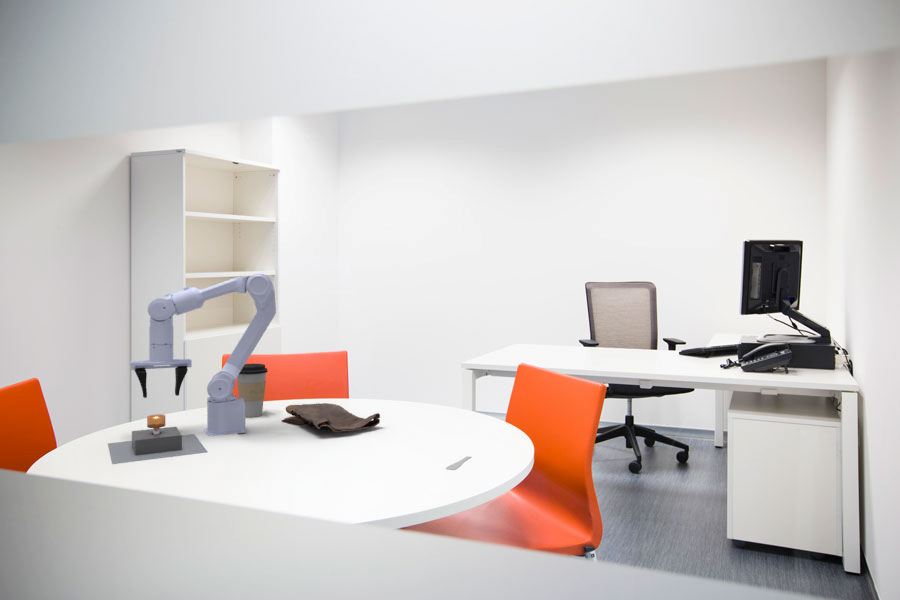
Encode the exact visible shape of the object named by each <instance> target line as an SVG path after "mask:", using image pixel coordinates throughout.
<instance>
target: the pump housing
mask: <svg viewBox="0 0 900 600" xmlns="http://www.w3.org/2000/svg"><path fill="white" fill-rule="evenodd" d="M182 435H183V434H182V433H181V432H180V430H179V429H178V428H177V426H169V427H160V434H153V428H148V429H141V430H131V441H132V447H133V450H134V453H135V455H143V454H152V453H160V452H168V451H177V450H182Z"/></svg>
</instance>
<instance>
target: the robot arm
mask: <svg viewBox="0 0 900 600" xmlns="http://www.w3.org/2000/svg"><path fill="white" fill-rule="evenodd" d="M247 292H248V294H249V295H250V296H251V298H252V300H253V302H254V306H255V308H256V313H255V315H254V316H253V319H252V320H251V321H250V323H249V325H248V326H247V328H246V330H245V331H244V333H243V334H242V336H241V338H240V339H239V340H238V343H237V344H236V346H235V347H234V349H233V350H232V352H231V354H230V356H229V357H228V359H227V360H226V362H225V364H224V365H223V367H222V368H221V370H220V371H218V372H217V373H215V374H214V375H213V376H212V378H211V380H210V381H209V382H208V383H207V387H206V391H207V394H208V396H209V397H207V399H206V400H207V401H206V404H207V407H206V410H207V414H206V416H207V417H206V419H207V428H204V429H203V431H204V432H205V433H206V434H207V435H208V436H209V437H212V436H221V435H228V434H245V433H247V429H246V417H245V402H244V399H243V398H239V397H237V396H236V395H235V393H234V392H233V390H234V389H235V386H236V380H237V377H238V375H239V373H240V371H241V370H242V368H243V366H244V365H245V364H247V361H248V360H249V358H250V357H251V355H252V354H253V352H254V350H255V349H256V347H257V345H258V343H259V342H260V341H261V338H262V337H263V336H264V334H265V333H266V331H267V329H268V327H269V326H270V324H271V322H272V321H273V319H274V317H275V316H276V313H277V307H276V294H275V293H276V291H275V286H274V285H273V282H272V279H271V278H270V277H269V276H268V275H266V274H264V273H254V274H252V275H244V276H239V277H233V278H231V279H227V280H226V281H222V282H220V283H216V284H214V285H211V286H208V287H205V288H203V289H200V288H197V287H195V286H191V287H190V286H186V287H183V289H182V290H180V291H177V292H174V293H171V292H168V293H165V297H156V298H155V299H153V300H151V302H149V304H148V307H147V313H148V315H149V326H148V327H149V328H148V329H149V333H148V334H149V341H148V342H149V343H148V344H149V345H148V348H149V349H148V350H149V351H148V352H149V354H148V355H149V357H148V359H149V360H148V359H147V360H139V361H136V360H135V361H129V370H130V371H134V372H135V374H136V377H137V379H138V382H139V383H140V384H139V385H140V388H141V391H142V398H143V399H145V398H146V399H147V397H148V392H147V373H148V372H147V370H151V369H157V370H158V369H171V368H172V369H173V368H174V369H175V370H174V371H175V372H174V373H175V376H174V377H175V383H174V384H175V385H174V386H175V387H174V395H175V396H177V397H178V396H180V391H181V388H182V384H183V381H184V379H185V377H186V375H187V373H188V368H192V364H193V363H192V361H193V360H192V359H189V358H185V359H183V358H182V359H181V358H180V359H179V358H178V359H174V317H173V316H180V315H183V314H186V313H189V312H192V311H195V310H197V309H201V308H202V307H203V306H204V303H205V302H206V301H207V300H212V299H215V298H218V297H222V296H225V295H228V294H232V293H238V294H239V293H240V294H247Z"/></svg>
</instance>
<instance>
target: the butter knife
mask: <svg viewBox="0 0 900 600" xmlns="http://www.w3.org/2000/svg"><path fill="white" fill-rule="evenodd" d="M471 458H472V456H468V455H467V456H465V457H464V458H462V459H461V460H459V461H457V462H454V463H452V464H450V465H448V466H446V467H445V469H446V470H447V471H455V470H458V469H459V468H460V467H461V466H462V465H463V464H464V463H465V462H467V461H468V460H470V459H471Z"/></svg>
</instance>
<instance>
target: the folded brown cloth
mask: <svg viewBox="0 0 900 600" xmlns="http://www.w3.org/2000/svg"><path fill="white" fill-rule="evenodd" d="M285 411H286V413H287V414H289V415H291V416H293V417H286V418H284V419H281V422H283V423H292V424H297V425H304V424H305V423H307V424H308V425H314V426H315V428H317V429H318V430H320V428H321V427H327V428H330V430H332V431H333V432H334V433H341V432H354V431H359V430H362V429H363V430H364V429H371V428H375V427H376V426H377V425H379V424H380V422H381V420H380V419H381V414H380V413H379V412H376V413H373V414H371V415H370V416H368V417H366V418H364V417H359V416H357V415H355V414H354V413H351V412H350V411H348V410H347V409H345V408H344V407H343V406H341V405H339V404H335V403H325V402H323V403H319V402H317V403H303V404H290V405H287V406H285Z"/></svg>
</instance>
